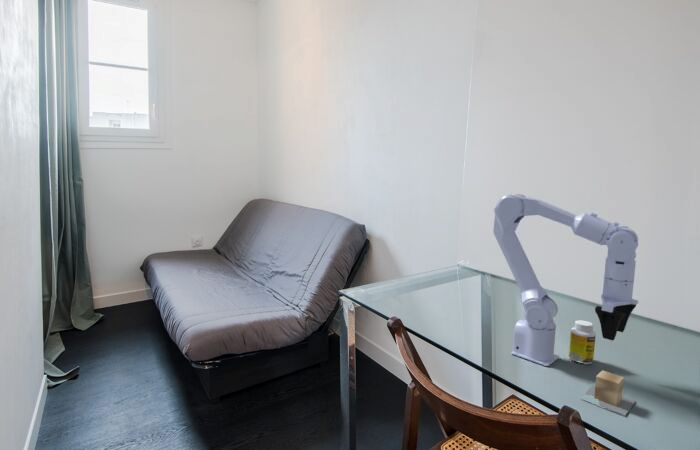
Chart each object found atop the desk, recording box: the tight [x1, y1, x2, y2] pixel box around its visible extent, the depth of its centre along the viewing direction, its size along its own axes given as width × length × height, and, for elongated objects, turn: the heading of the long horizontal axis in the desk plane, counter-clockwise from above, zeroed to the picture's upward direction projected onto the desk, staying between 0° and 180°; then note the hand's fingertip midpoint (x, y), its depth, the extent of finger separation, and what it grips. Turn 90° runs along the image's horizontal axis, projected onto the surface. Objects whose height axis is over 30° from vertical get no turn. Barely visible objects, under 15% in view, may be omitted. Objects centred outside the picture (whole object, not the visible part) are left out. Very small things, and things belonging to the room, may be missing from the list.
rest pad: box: [584, 385, 637, 417], centre depth 82 cm, size 8×8×1 cm
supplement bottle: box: [568, 319, 597, 365], centre depth 100 cm, size 6×6×10 cm
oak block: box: [594, 370, 625, 406], centre depth 82 cm, size 4×4×5 cm
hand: (613, 334), depth 91 cm, fingers open, 7 cm apart
